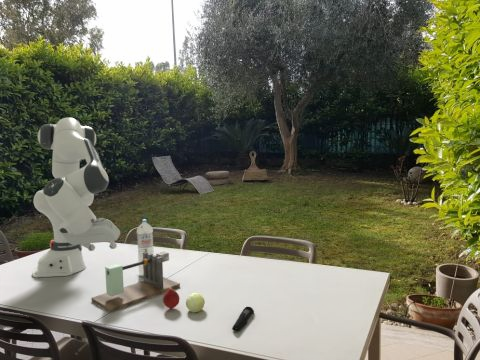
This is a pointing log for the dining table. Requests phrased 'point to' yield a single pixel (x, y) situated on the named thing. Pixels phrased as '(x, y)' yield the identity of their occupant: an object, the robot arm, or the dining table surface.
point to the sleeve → (114, 279)
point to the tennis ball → (195, 302)
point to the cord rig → (140, 284)
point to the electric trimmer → (243, 318)
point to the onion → (171, 298)
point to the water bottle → (144, 242)
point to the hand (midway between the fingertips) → (103, 248)
